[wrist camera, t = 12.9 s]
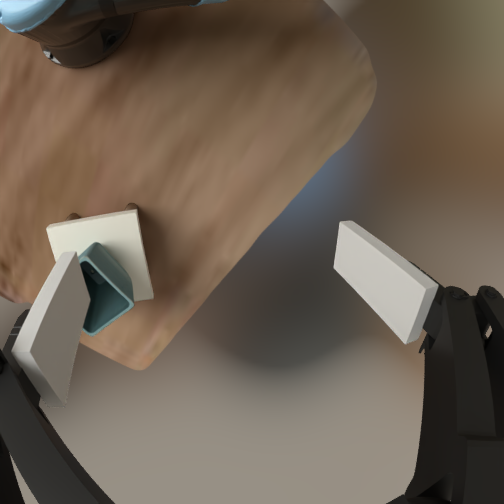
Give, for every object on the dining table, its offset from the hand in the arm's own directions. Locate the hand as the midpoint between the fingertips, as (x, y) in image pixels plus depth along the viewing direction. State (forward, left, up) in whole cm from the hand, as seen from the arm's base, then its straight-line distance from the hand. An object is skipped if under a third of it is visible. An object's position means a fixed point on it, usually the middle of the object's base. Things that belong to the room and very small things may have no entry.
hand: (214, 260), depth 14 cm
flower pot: (+13, -14, -27) cm, 33 cm away
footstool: (+13, -14, -34) cm, 39 cm away
